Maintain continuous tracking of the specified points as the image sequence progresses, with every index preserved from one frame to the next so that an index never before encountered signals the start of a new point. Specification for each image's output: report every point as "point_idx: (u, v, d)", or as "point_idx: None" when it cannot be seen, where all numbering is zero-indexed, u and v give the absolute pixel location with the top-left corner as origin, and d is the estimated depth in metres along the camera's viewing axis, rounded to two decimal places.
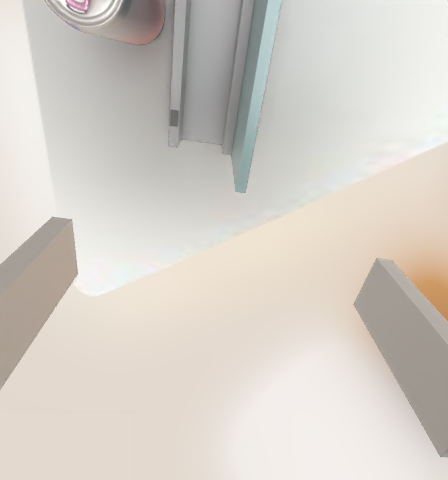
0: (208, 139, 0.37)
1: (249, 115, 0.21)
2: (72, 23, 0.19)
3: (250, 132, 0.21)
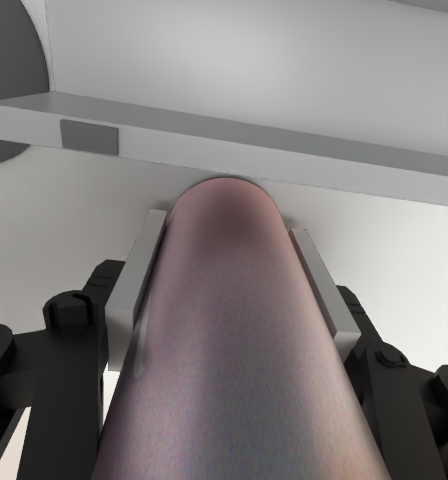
0: None
1: None
2: None
3: None
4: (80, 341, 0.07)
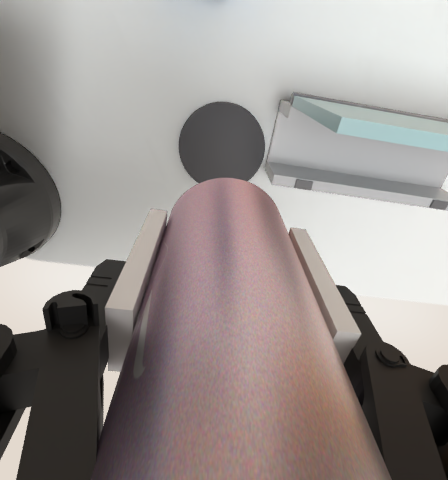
0: None
1: None
2: None
3: None
4: (80, 341, 0.07)
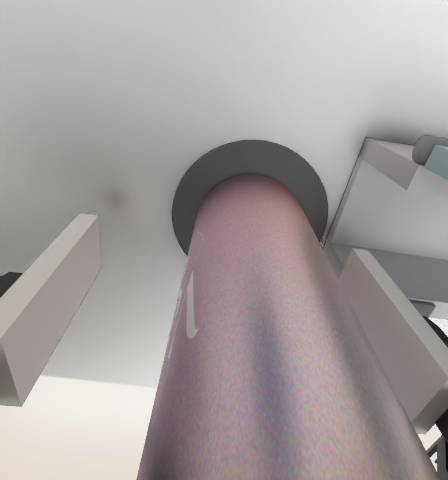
0: None
1: None
2: None
3: None
4: None
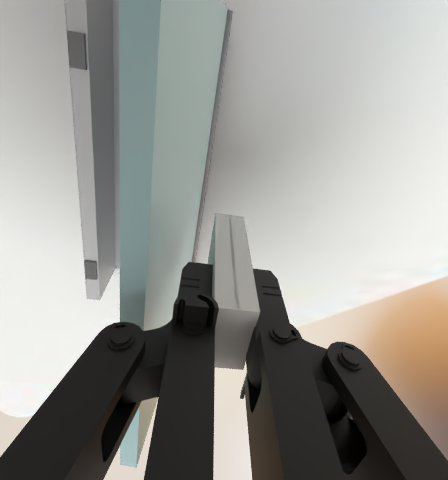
0: None
1: None
2: None
3: None
4: (199, 340, 0.08)
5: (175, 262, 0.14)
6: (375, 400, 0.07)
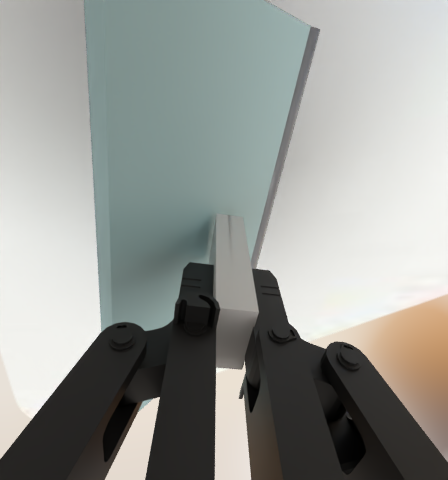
0: None
1: None
2: None
3: None
4: (200, 340, 0.08)
5: (192, 258, 0.15)
6: (374, 400, 0.07)
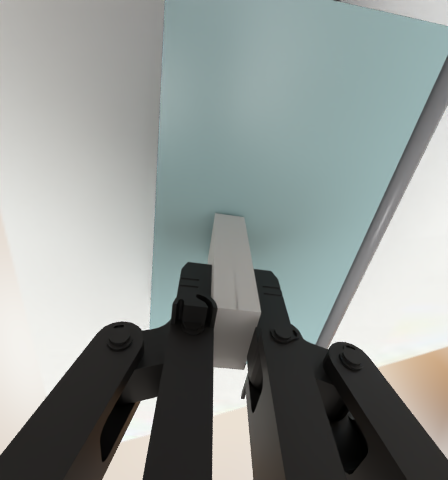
0: None
1: None
2: None
3: None
4: (198, 339, 0.08)
5: None
6: (376, 400, 0.07)
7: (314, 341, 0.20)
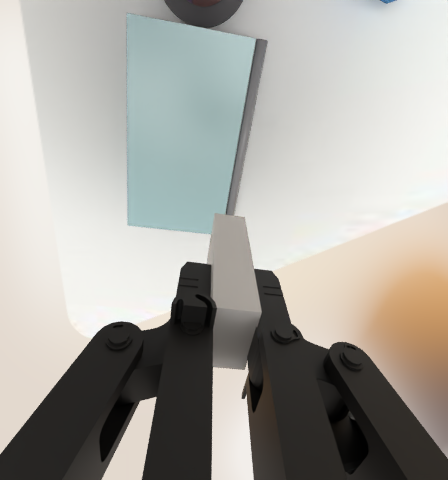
0: None
1: None
2: None
3: None
4: (197, 339, 0.08)
5: (172, 149, 0.31)
6: (377, 400, 0.07)
7: None
